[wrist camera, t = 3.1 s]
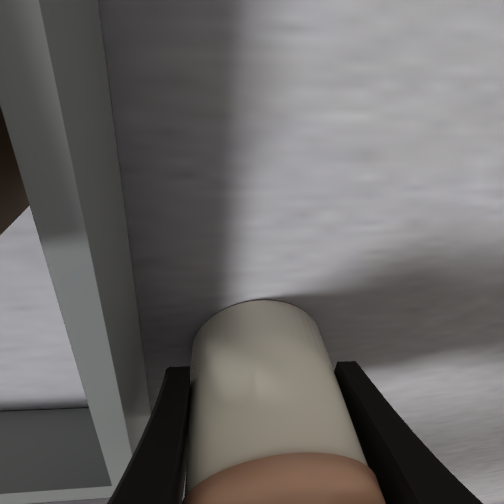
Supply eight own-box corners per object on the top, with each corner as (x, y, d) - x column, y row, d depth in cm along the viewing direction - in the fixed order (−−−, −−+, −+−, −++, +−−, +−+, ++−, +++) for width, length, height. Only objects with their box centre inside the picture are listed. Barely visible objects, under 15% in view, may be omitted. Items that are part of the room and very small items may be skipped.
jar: (310, 387, 14) (359, 564, 9) (189, 392, 13) (180, 583, 9) (336, 297, 11) (421, 481, 7) (188, 297, 11) (173, 502, 6)
